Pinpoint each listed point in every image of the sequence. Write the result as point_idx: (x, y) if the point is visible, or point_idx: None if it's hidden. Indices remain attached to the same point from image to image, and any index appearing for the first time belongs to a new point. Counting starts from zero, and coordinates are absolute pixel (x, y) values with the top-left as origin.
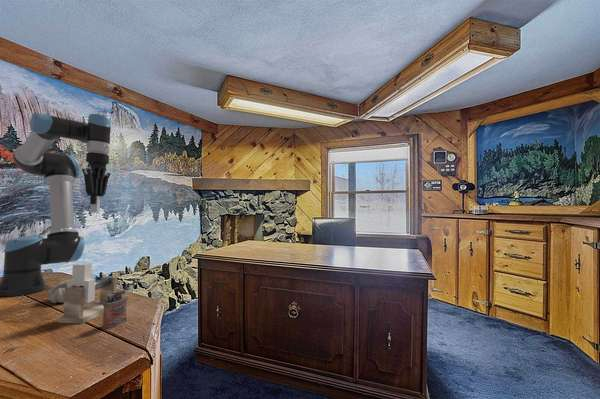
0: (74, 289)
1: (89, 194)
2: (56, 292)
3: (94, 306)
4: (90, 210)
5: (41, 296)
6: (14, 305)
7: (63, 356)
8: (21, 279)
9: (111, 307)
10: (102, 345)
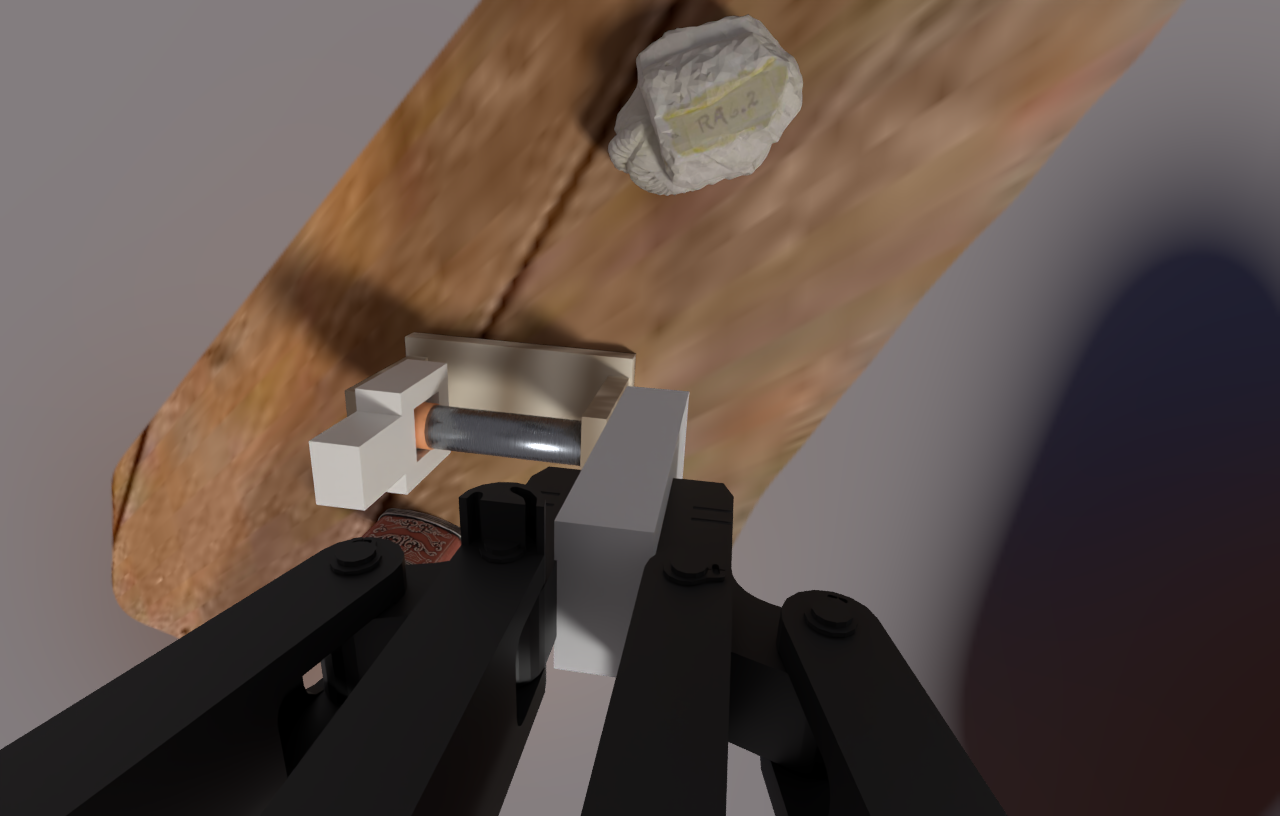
0: None
1: (421, 568)
2: (625, 127)
3: (545, 389)
4: (621, 400)
5: None
6: None
7: (220, 513)
8: None
9: None
10: (288, 568)
